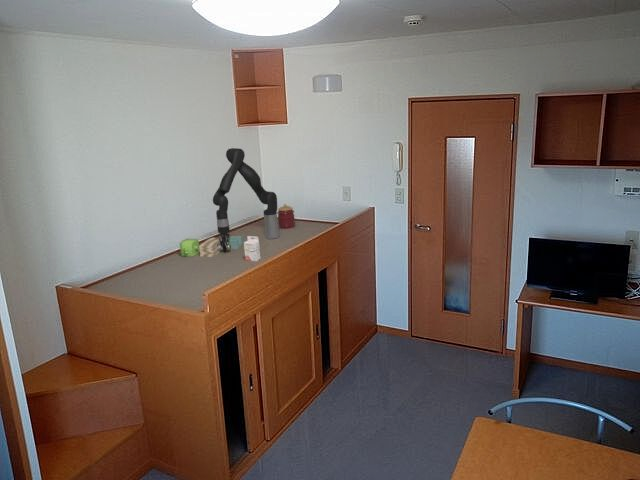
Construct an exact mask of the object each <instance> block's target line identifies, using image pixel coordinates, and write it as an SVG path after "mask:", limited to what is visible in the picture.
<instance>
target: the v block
mask: <svg viewBox="0 0 640 480" xmlns="http://www.w3.org/2000/svg"><path fill="white" fill-rule="evenodd" d="M243 238H244V237H243V235H232V236H230V238H229V244H230V245H231V250H237V249H239V248H240V247H241V246H242V245H244V239H243Z"/></svg>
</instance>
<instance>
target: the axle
mask: <svg viewBox="0 0 640 480" xmlns="http://www.w3.org/2000/svg"><path fill="white" fill-rule="evenodd" d="M217 248H218V250H221V251H223V246H221V245H217ZM226 248H227V251H231V250H232V249H231V245H230V244H228V245H226Z"/></svg>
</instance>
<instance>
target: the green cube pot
mask: <svg viewBox="0 0 640 480" xmlns="http://www.w3.org/2000/svg"><path fill="white" fill-rule="evenodd" d="M200 245H201V244H200V242H199V239H197V238H185V239H184V240H182V241H181V242H179V249H180V256H181V257H194V256H195V255H197V254H198V253H200V249H199V246H200Z"/></svg>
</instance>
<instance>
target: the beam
mask: <svg viewBox="0 0 640 480" xmlns="http://www.w3.org/2000/svg"><path fill="white" fill-rule="evenodd" d="M219 238H220V237H209V238H208V239H206V240H205V241H204V242H202V243H201V244H200V245H199V256H200V257H201V258H212V257H213V258H214V257H215V256H217V254H219V253H220V252H222V250H218V248H217V245H221V244H220V240H219Z"/></svg>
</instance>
